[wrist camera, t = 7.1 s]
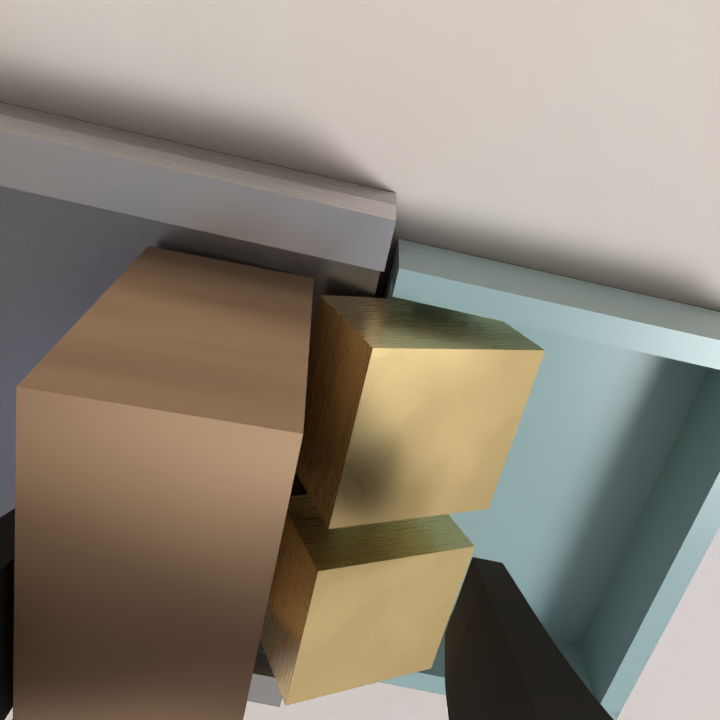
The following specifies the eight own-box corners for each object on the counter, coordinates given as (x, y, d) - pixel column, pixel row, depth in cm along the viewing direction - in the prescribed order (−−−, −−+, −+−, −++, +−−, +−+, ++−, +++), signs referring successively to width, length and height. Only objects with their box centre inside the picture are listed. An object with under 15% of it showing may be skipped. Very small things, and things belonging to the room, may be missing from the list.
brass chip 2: (387, 597, 19) (431, 668, 17) (253, 622, 17) (285, 705, 15) (422, 482, 18) (474, 546, 16) (279, 496, 16) (318, 571, 14)
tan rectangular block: (254, 579, 18) (217, 841, 12) (119, 561, 17) (11, 822, 11) (313, 278, 14) (303, 434, 9) (148, 246, 14) (16, 386, 8)
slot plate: (294, 620, 20) (279, 707, 18) (-38, 554, 20) (-106, 631, 17) (396, 193, 15) (396, 220, 12) (-50, 90, 15) (-152, 95, 12)
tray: (587, 653, 20) (611, 728, 18) (310, 597, 20) (300, 666, 18) (748, 318, 16) (807, 360, 14) (398, 238, 16) (399, 268, 13)
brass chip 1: (433, 447, 17) (488, 509, 15) (286, 458, 15) (328, 529, 13) (477, 303, 16) (545, 350, 14) (319, 295, 14) (373, 348, 12)
